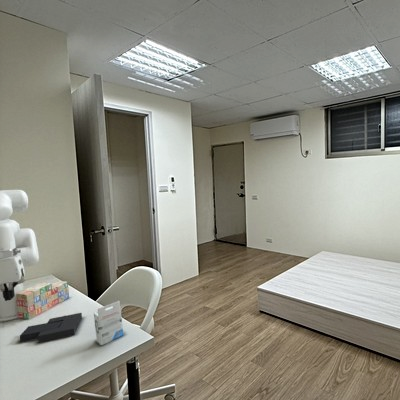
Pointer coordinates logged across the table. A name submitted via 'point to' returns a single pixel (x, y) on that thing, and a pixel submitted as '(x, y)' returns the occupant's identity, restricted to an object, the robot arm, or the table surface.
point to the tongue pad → (37, 330)
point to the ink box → (108, 323)
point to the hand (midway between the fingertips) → (9, 299)
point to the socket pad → (61, 327)
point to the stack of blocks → (40, 298)
